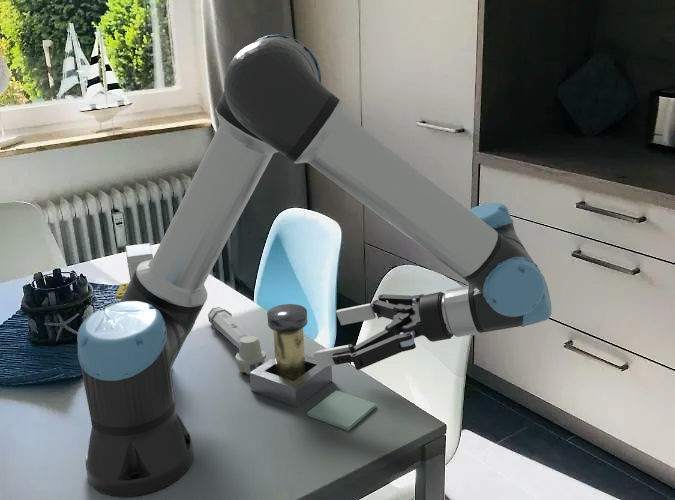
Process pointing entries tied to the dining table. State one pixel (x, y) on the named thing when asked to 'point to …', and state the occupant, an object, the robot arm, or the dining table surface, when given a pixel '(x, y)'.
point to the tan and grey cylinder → (288, 339)
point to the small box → (137, 256)
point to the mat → (341, 410)
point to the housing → (290, 382)
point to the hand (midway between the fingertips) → (328, 337)
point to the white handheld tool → (238, 340)
